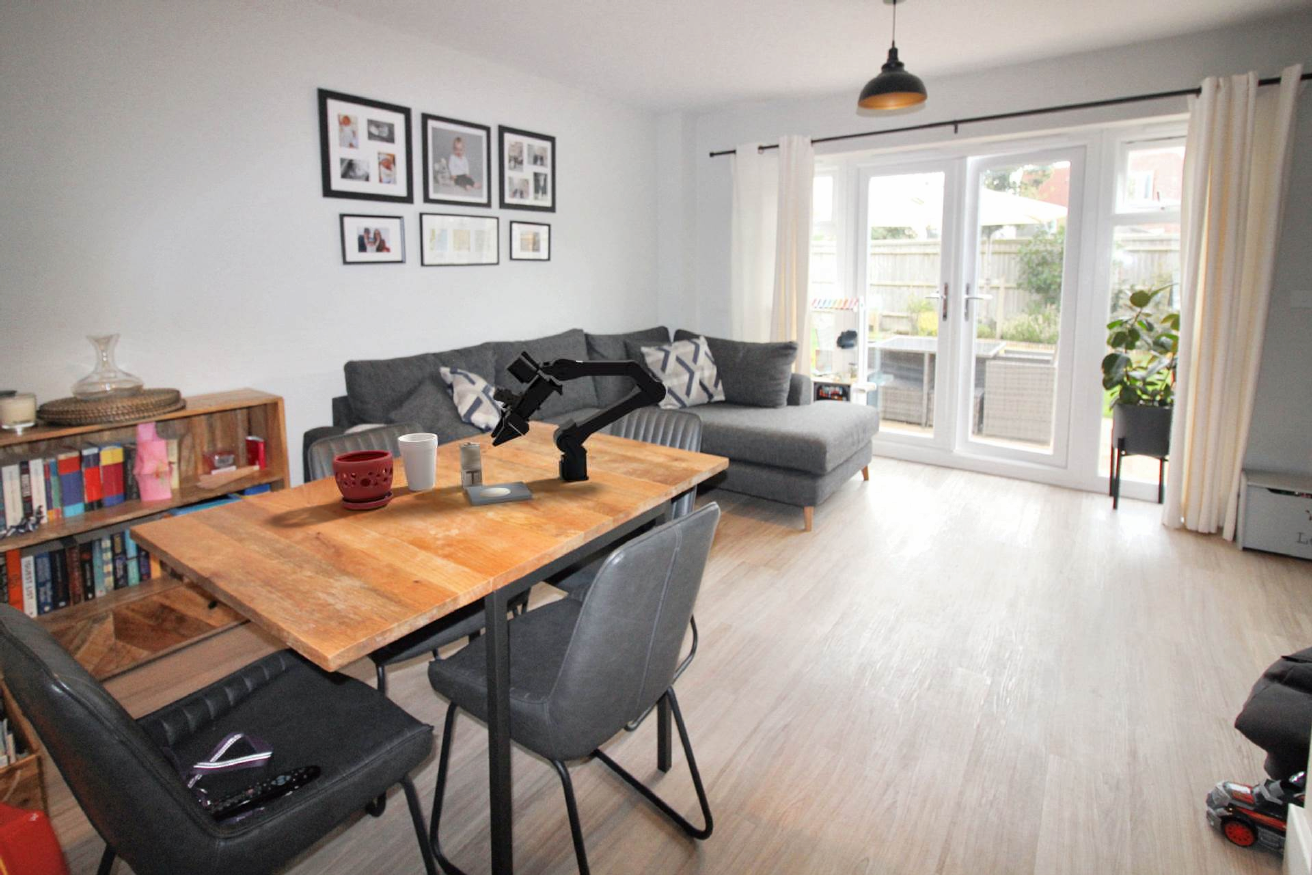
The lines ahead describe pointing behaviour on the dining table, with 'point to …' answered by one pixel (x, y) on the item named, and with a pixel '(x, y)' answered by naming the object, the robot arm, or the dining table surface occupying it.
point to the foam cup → (419, 459)
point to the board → (498, 493)
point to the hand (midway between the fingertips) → (492, 441)
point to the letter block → (470, 464)
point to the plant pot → (364, 478)
